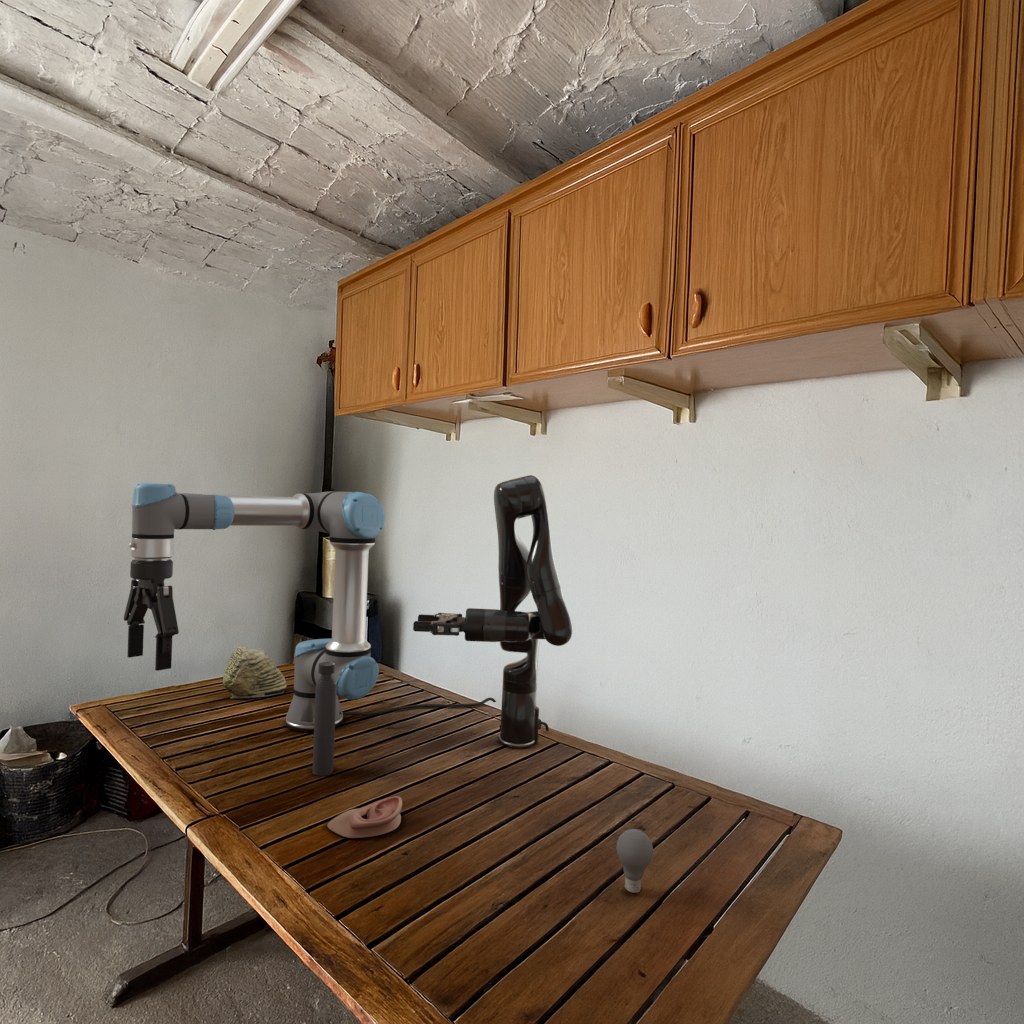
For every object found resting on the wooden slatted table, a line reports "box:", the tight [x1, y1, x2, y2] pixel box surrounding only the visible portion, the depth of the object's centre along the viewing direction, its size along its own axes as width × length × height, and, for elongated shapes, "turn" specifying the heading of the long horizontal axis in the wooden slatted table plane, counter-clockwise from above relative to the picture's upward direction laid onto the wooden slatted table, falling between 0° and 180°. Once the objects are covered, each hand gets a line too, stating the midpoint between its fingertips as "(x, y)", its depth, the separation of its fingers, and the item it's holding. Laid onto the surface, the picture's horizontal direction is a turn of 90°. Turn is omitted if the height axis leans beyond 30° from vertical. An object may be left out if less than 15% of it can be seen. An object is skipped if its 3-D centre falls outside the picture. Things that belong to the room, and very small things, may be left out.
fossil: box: [222, 646, 288, 699], centre depth 198 cm, size 9×18×15 cm, turn 132°
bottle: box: [312, 674, 337, 777], centre depth 146 cm, size 5×5×25 cm
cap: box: [318, 662, 335, 675], centre depth 145 cm, size 4×4×2 cm
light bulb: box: [615, 828, 654, 894], centre depth 106 cm, size 6×6×10 cm
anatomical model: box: [327, 795, 403, 839], centre depth 123 cm, size 13×4×12 cm
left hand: (148, 662), depth 129 cm, fingers open, 13 cm apart
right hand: (415, 622), depth 146 cm, fingers open, 8 cm apart
